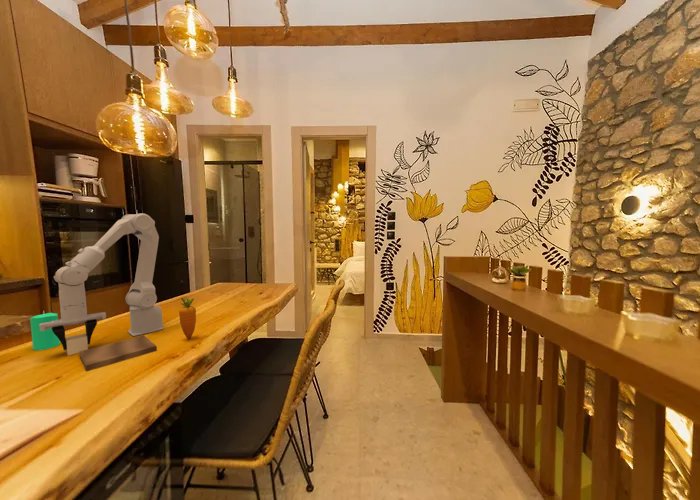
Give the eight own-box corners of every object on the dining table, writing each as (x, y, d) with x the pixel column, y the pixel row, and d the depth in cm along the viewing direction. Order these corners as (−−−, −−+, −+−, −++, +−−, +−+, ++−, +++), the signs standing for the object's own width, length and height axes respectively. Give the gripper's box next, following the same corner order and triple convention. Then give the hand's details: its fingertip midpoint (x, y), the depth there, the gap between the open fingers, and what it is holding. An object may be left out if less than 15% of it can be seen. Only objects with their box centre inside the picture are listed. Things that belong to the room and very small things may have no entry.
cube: (86, 346, 89) (85, 333, 88) (88, 350, 86) (87, 336, 85) (66, 351, 85) (65, 337, 85) (67, 355, 82) (66, 341, 82)
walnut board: (144, 339, 94) (144, 335, 94) (156, 350, 85) (156, 345, 85) (79, 356, 82) (79, 351, 82) (86, 371, 73) (85, 365, 73)
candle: (41, 351, 86) (38, 314, 85) (27, 349, 87) (24, 313, 86) (65, 343, 92) (62, 308, 91) (51, 342, 93) (48, 307, 92)
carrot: (200, 337, 95) (198, 295, 94) (188, 342, 91) (185, 298, 90) (190, 335, 97) (187, 294, 96) (177, 340, 92) (174, 297, 91)
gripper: (102, 297, 93) (105, 336, 93) (37, 307, 81) (41, 350, 82) (106, 301, 88) (109, 341, 89) (38, 311, 77) (42, 357, 78)
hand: (77, 346), depth 85 cm, fingers closed on cube, 4 cm apart
